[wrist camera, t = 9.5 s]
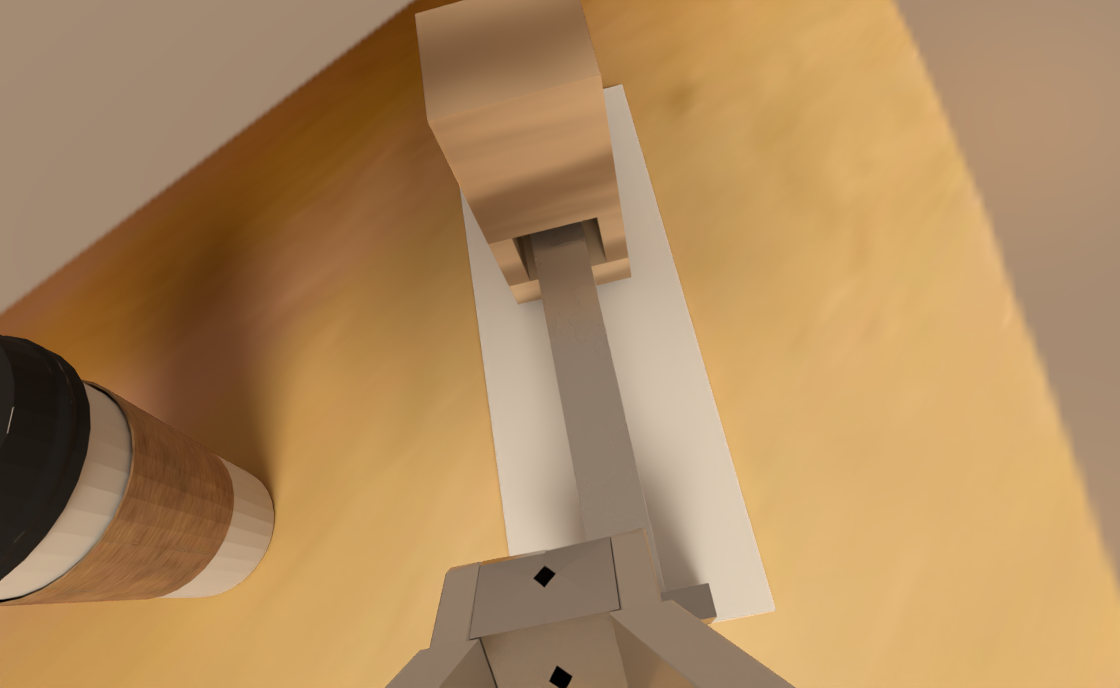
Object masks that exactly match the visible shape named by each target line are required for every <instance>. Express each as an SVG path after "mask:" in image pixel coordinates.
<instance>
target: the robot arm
mask: <svg viewBox="0 0 1120 688" xmlns="http://www.w3.org/2000/svg"><path fill="white" fill-rule="evenodd" d="M385 688H795V687H794V686H792V685H791V684H790V683H788V682H787V681H785V680H784V679H783V678H781V677H780V676H778V675H777V674H776V673H774V672H773V671H771V670H770V669H769V668H767V667H766V666H764V665H763V664H761V663H760V662H759V661H757V660H756V659H754V658H753V657H752V656H750V655H749V654H747V653H746V652H745V651H743V650H742V649H740V648H739V647H738V646H736V645H735V644H733V643H732V642H730V641H729V640H728V639H726V638H725V637H723V636H722V635H721V634H719V633H718V632H716V631H715V630H714V629H712V628H711V627H709V626H708V625H706V624H705V623H704V622H702V621H701V620H699V619H698V618H697V617H695V616H694V615H692V614H691V613H690V612H688V611H687V610H685V609H684V608H683V607H681V606H680V605H678V604H677V603H675V602H674V601H673V600H669V601H663V602H662V600H661V596H660V592H659V587H658V583H657V579H656V574H655V570H654V566H653V561H652V557H651V553H650V548H649V544H648V539H647V535H646V531H645V530H644V528H643V527H642V528H638V529H634V530H630V531H626V532H622V533H618V534H613V535H611V537H610V536H609V537H604V538H600V539H595V540H591V541H586V542H582V543H577V544H573V545H568V546H563V547H559V548H554V549H550V550H547V549H546V550H541V551H535V552H530V553H525V554H519V555H514V556H508V557H503V558H498V559H492V560H487V561H483V562H477V563H472V564H467V565H462V566H457V567H452V568H450V569H449V570H448V572H447V573H446V575H445V579H444V584H443V589H442V593H441V598H440V602H439V607H438V611H437V616H436V621H435V625H434V630H433V634H432V639H431V643H430V648H429V649H425V650H420V651H419V652H418V653H417V654H416V655H415V656H414V657H413V658H412V659H411V660H410V661H409V662H408V664H407V665H406V666H405V667H404V668H403V669H402V670H401V671H400V672H399V673H398V674H397V675H396V676H395V677H394V678H393V680H392V681H391V682H390V683H389V684H388V685H387V686H386V687H385Z"/></svg>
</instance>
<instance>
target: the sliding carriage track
mask: <svg viewBox="0 0 1120 688" xmlns="http://www.w3.org/2000/svg"><path fill="white" fill-rule="evenodd" d="M530 237H531V242H532V248H533V253H534V258H535V264H536V269H537V275H538V280H539V285H540V291H541V296H542V302H543V307H544V312H545V318H546V323H547V329H548V334H549V339H550V345H551V350H552V356H553V361H554V366H555V372H556V377H557V383H558V388H559V393H560V399H561V404H562V410H563V415H564V420H565V426H566V431H567V436H568V442H569V447H570V453H571V458H572V463H573V469H574V474H575V480H576V485H577V490H578V496H579V501H580V507H581V512H582V517H583V523H584V528H585V534H586V539H587V541H591V540H595V539H600V538H604V537H609V536H610V537H611V535H613V534H618V533H622V532H626V531H630V530H634V529H638V528H642V527H643V528H644V530H645V531H646V535H647V539H648V544H649V548H650V553H651V557H652V561H653V566H654V570H655V574H656V579H657V583H658V587H659V592H660V596H661V600H662V602H663V601H669V600H673V601H674V602H675V603H677V604H678V605H680V606H681V607H683V608H684V609H685V610H687V611H688V612H690V613H691V614H692V615H694V616H695V617H697V618H698V619H699V620H701V621H702V622H704V623H705V624H711V623H712V622H713V621H714V619H715V618H716V617H717V614H716V610H715V606H714V602H713V598H712V594H711V590H710V586H709V583H706V584H701V585H696V586H690V587H685V588H680V589H675V590H670V591H666V590H665V585H664V581H663V577H662V572H661V568H660V564H659V559H658V555H657V550H656V546H655V542H654V537H653V533H652V528H651V524H650V520H649V515H648V511H647V507H646V502H645V498H644V493H643V489H642V485H641V480H640V476H639V471H638V467H637V463H636V458H635V454H634V450H633V445H632V441H631V436H630V432H629V428H628V423H627V419H626V414H625V410H624V406H623V401H622V397H621V393H620V388H619V384H618V379H617V375H616V371H615V366H614V362H613V358H612V353H611V349H610V344H609V340H608V336H607V331H606V327H605V322H604V318H603V314H602V309H601V305H600V301H599V296H598V292H597V287H596V283H595V279H594V274H593V270H592V265H591V261H590V257H589V252H588V248H587V244H586V239H585V235H584V230H583V226H582V222H581V221H580V222H576V223H572V224H568V225H564V226H560V227H556V228H552V229H548V230H543V231H539V232H535V233H531V234H530Z"/></svg>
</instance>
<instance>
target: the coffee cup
mask: <svg viewBox="0 0 1120 688" xmlns="http://www.w3.org/2000/svg"><path fill="white" fill-rule="evenodd" d="M273 527H274V509H273V503H272V500H271V497H270V495H269V492H268V491H267V489H266V488H265V486H264V485H263V483H262V482H261V481H259V480H258V479H257V478H256V477H255V476H253V475H252V474H250V473H248V472H247V471H245V470H243V469H241V468H239V467H237V466H236V465H234V464H232V463H230V462H228V461H226V460H225V459H223V458H221V457H219V456H217V455H215V454H214V453H213V452H212V451H210V450H209V449H207V448H205V447H204V446H202V445H200V444H199V443H197V442H195V441H194V440H192V439H190V438H189V437H187V436H185V435H184V434H182V433H180V432H178V431H177V430H175V429H173V428H172V427H170V426H168V425H167V424H165V423H163V422H162V421H160V420H158V419H157V418H155V417H153V416H152V415H150V414H148V413H147V412H145V411H143V410H142V409H140V408H138V407H137V406H135V405H133V404H132V403H130V402H128V401H127V400H125V399H123V398H122V397H120V396H118V395H116V394H115V393H113V392H111V391H110V390H108V389H106V388H104V387H102V386H100V385H98V384H96V383H94V382H90V381H84V380H81V379H80V377H79V376H78V374H77V372H76V371H75V369H74V368H73V367H72V366H71V365H70V364H69V363H68V362H67V361H65V360H64V359H63V358H62V357H61V356H59V355H57V354H55V353H53V352H51V351H49V350H47V349H45V348H44V347H42V346H40V345H38V344H36V343H34V342H32V341H29V340H27V339H23V338H17V337H11V336H2V335H0V606H12V605H34V604H55V603H76V602H98V601H119V600H140V599H151V598H194V597H209V596H214V595H218V594H221V593H223V592H226V591H228V590H230V589H232V588H233V587H235V586H236V585H238V584H239V583H241V582H242V581H243V580H244V579H245V578H246V577H247V576H248V575H250V574H251V573H252V571H253V570H254V569H255V568H256V566H257V565H258V564H259V563H260V561H261V559H262V558H263V556H264V554H265V552H266V551H267V548H268V545H269V543H270V540H271V537H272V532H273Z"/></svg>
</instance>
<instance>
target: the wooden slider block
mask: <svg viewBox="0 0 1120 688" xmlns="http://www.w3.org/2000/svg"><path fill="white" fill-rule="evenodd" d="M415 19H416V28H417V36H418V45H419V54H420V62H421V71H422V80H423V89H424V97H425V106H426V115H427V122H428V124H429V126H430V128H431V130H432V132H433V134H434V136H435V138H436V140H437V142H438V144H439V146H440V148H441V150H442V152H443V154H444V156H445V158H446V160H447V162H448V164H449V166H450V168H451V170H452V172H453V174H454V176H455V178H456V180H457V182H458V184H459V186H460V188H461V190H462V192H463V194H464V196H465V198H466V200H467V202H468V204H469V207H470V209H471V211H472V213H473V215H474V217H475V219H476V221H477V223H478V225H479V227H480V229H481V231H482V233H483V235H484V237H485V239H486V241H487V243H488V245H489V247H490V249H491V251H492V253H493V255H494V257H495V259H496V261H497V263H498V265H499V267H500V269H501V271H502V273H503V275H504V277H505V279H506V281H507V283H508V285H509V287H510V289H511V291H512V293H513V295H514V297H515V299H516V302H517V304H522V303H526V302H530V301H534V300H539V299H542V296H541V291H540V285H539V280H538V275H537V269H536V264H535V258H534V253H533V248H532V242H531V237H530V234H531V233H535V232H539V231H543V230H548V229H552V228H556V227H560V226H564V225H568V224H572V223H576V222H580V221H581V222H582V226H583V230H584V235H585V239H586V244H587V248H588V252H589V257H590V261H591V265H592V270H593V274H594V279H595V283H596V286H597V285H601V284H605V283H610V282H614V281H618V280H622V279H626V278H630V277H631V270H630V264H629V257H628V251H627V244H626V237H625V231H624V224H623V218H622V211H621V204H620V198H619V191H618V185H617V178H616V172H615V165H614V158H613V152H612V145H611V139H610V132H609V125H608V119H607V112H606V106H605V99H604V93H603V86H602V79H601V74H600V70H599V67H598V63H597V59H596V56H595V52H594V48H593V45H592V41H591V37H590V34H589V30H588V27H587V23H586V19H585V16H584V12H583V8H582V5H581V1H580V0H463V1H460V2H456V3H452V4H449V5H445V6H442V7H438V8H435V9H431V10H427V11H424V12H420V13H417V14H415Z"/></svg>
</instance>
